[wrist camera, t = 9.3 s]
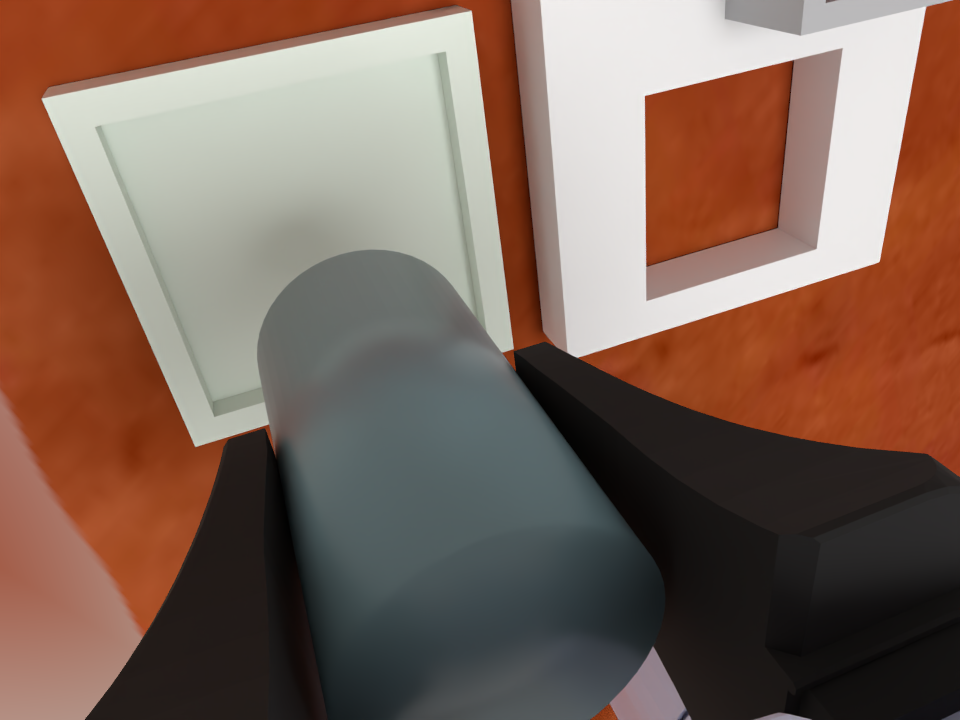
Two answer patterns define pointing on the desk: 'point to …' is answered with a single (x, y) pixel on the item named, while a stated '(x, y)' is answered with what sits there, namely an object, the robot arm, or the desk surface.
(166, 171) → the tray
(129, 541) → the desk surface
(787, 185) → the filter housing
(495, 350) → the cylinder
